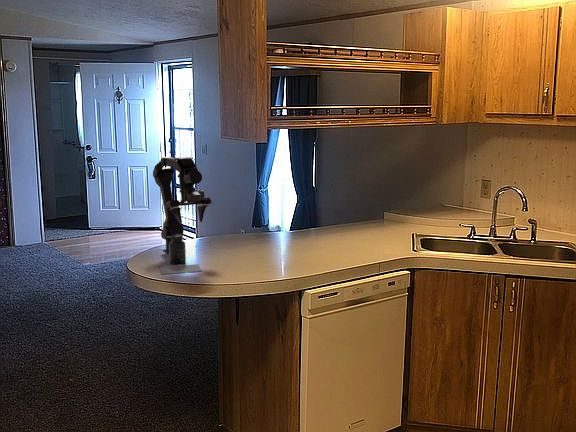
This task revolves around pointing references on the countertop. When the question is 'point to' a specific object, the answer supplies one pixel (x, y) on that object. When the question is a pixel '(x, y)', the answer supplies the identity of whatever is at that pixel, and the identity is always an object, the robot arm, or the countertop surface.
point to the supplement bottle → (177, 250)
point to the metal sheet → (180, 269)
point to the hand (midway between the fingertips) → (191, 223)
